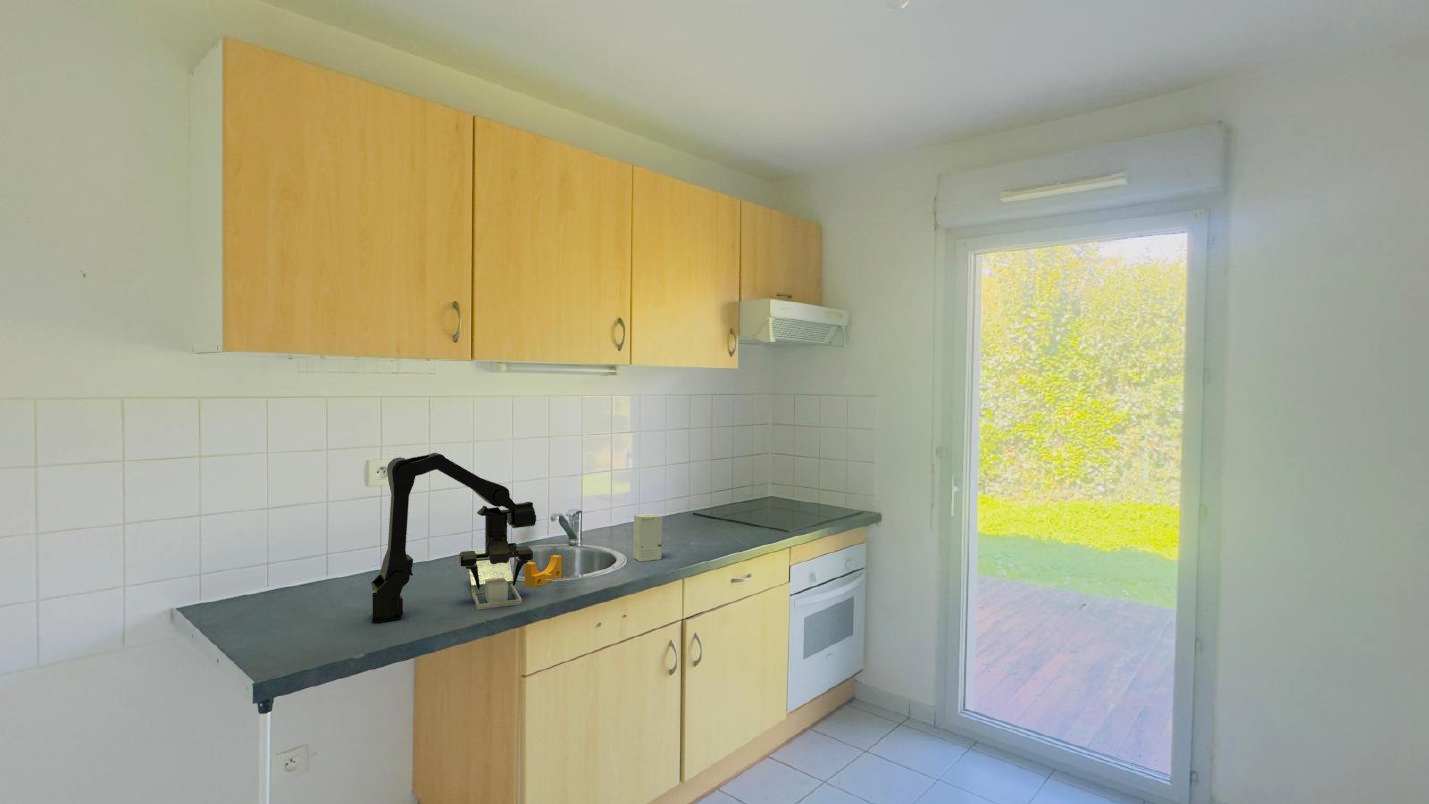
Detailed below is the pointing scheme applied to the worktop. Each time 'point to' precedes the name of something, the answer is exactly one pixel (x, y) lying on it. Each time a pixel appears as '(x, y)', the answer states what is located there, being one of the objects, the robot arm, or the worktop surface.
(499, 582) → the block
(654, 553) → the skincare box
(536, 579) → the pipe clamp
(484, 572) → the case
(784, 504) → the worktop surface
